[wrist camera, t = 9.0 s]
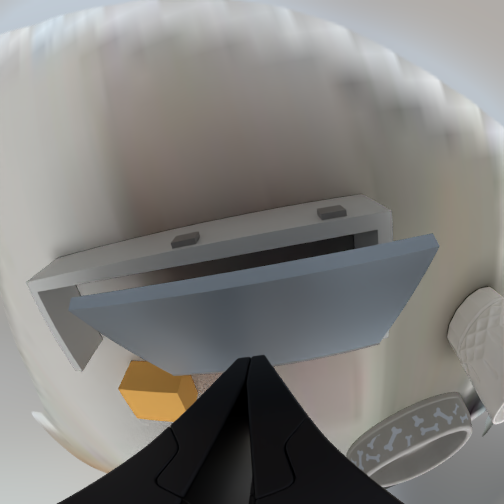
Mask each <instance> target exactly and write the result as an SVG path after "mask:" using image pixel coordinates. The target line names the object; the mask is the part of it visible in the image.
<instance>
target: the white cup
mask: <svg viewBox="0 0 504 504" xmlns="http://www.w3.org/2000/svg"><path fill="white" fill-rule="evenodd" d="M447 338H448V341H449V343H450V346H451V347H452V349H453V350H454V352H455V353H456V355H457V356H458V358H459V360H460V363H461V365H462V367H463V368H464V370H465V372H466V374H467V376H468V377H469V379H470V381H471V382H472V385H473V387H474V388H475V390H476V392H477V394H478V395H479V397H480V399H481V401H482V403H483V405H484V406H485V408H486V410H487V412H488V414H489V416H490V418H491V420H492V422H493V424H499V423H502V422H504V297H503V296H502V295H500V294H499V293H498V292H496V291H495V290H494V289H492V288H491V287H485V288H480V289H478V290H477V291H475V292H474V293H472V294H471V295H470V296H468V297H467V298H466V300H465V301H464V302H463V303H462V304H461V306H460V307H459V308H458V309H457V311H456V312H455V314H454V316H453V318H452V320H451V322H450V324H449V329H448V335H447Z"/></svg>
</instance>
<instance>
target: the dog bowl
mask: <svg viewBox="0 0 504 504" xmlns="http://www.w3.org/2000/svg"><path fill="white" fill-rule="evenodd" d="M471 434H472V424H471V418H470V414H469V412H468V410H467V408H466V406H465V404H464V402H463V400H462V398H461V395H460V394H459V393H458V392H450V393H444V394H440V395H436V396H433V397H430V398H427V399H425V400H422V401H420V402H417V403H415V404H413V405H411V406H408V407H406V408H404V409H402V410H400V411H398V412H397V413H395V414H393V415H391V416H389V417H388V418H386V419H384V420H383V421H381V422H379V423H378V424H376V425H375V426H373V427H372V428H370V429H369V430H368V431H366V432H365V433H364V434H363V435H361V436H360V437H359V438H358V439H357V440H356V441H355V442H354V443H353V444H352V445H351V447H350V448H349V450H348V452H347V458H348V459H349V460H350V461H351V462H353V463H354V464H355V465H356V466H357V467H358V468H360V469H361V470H362V471H363V472H364V473H366V474H367V475H368V476H369V477H370V478H372V479H373V480H374V481H375V482H377V483H378V484H379V485H380V486H382V487H388V486H392V485H396V484H399V483H402V482H405V481H408V480H410V479H413V478H415V477H417V476H420V475H422V474H424V473H426V472H428V471H429V470H431V469H433V468H435V467H437V466H438V465H440V464H441V463H443V462H444V461H446V460H447V459H449V458H450V457H451V456H452V455H454V454H455V453H456V452H457V451H458V450H459V449H460V448H462V446H463V445H464V444H465V443H466V442H467V441H468V439H469V438H470V436H471Z"/></svg>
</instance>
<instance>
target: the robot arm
mask: <svg viewBox="0 0 504 504" xmlns="http://www.w3.org/2000/svg"><path fill="white" fill-rule="evenodd" d="M170 427H171V428H170ZM170 427H168V428H167V429H165V430H164V431H163V432H162V433H161V434H160V435H159V436H158V437H157V438H155V439H154V440H153V441H152V442H151V443H150V444H148V445H147V446H146V447H145V448H143V449H142V450H141V451H139V452H138V453H137V454H135V455H134V456H133V457H131V458H130V459H128V460H127V461H126V462H124V463H123V464H121V465H120V466H118V467H117V468H115V469H114V470H112V471H111V472H109V473H108V474H106V475H104V476H103V477H102V478H100V479H98V480H97V481H95V482H93V483H92V484H90V485H89V486H87V487H86V488H84V489H82V490H80V491H79V492H77V493H75V494H73V495H72V496H70V497H68V498H66V499H65V500H63V501H61V502H59V503H57V504H404V503H403V502H401V501H400V500H399V499H397V498H396V497H395V496H393V495H392V494H391V493H389V492H388V491H387V490H385V489H384V488H383V487H382V486H380V485H379V484H378V483H377V482H375V481H374V480H373V479H372V478H370V477H369V476H368V475H367V474H366V473H364V472H363V471H362V470H361V469H360V468H358V467H357V466H356V465H355V464H354V463H353V462H351V461H350V460H349V459H348V458H347V457H346V456H344V455H343V454H342V453H341V452H340V451H339V450H338V449H337V448H336V447H335V446H334V445H333V444H332V443H331V442H330V441H329V440H328V439H327V438H326V437H325V436H324V435H323V434H322V432H321V431H320V430H319V429H318V428H317V426H316V425H315V424H314V422H313V421H312V420H311V418H309V417H308V415H307V414H306V412H305V411H304V410H303V408H302V407H301V405H300V404H299V403H298V401H297V400H296V399H295V397H294V396H293V394H292V393H291V392H290V390H289V389H288V387H287V386H286V385H285V383H284V382H283V380H282V379H281V378H280V376H279V375H278V373H277V372H276V370H275V369H274V368H273V366H272V365H271V363H270V362H269V360H268V359H267V357H266V356H265V355H257V356H252V357H242V358H238V359H236V360H235V361H234V362H233V364H232V365H231V366H230V367H229V368H228V369H227V370H226V371H225V372H224V373H223V374H222V375H221V376H220V377H219V378H218V379H217V380H216V381H215V382H214V383H213V384H212V385H211V386H210V387H209V388H208V389H207V390H206V391H205V392H204V393H203V394H202V395H201V396H200V397H199V398H198V399H197V400H196V401H195V402H194V403H193V404H192V405H191V406H190V407H189V408H188V409H187V410H186V411H185V412H184V413H183V414H182V415H181V416H180V417H179V418H178V419H177V420H176V421H175V422H174V423H172V424H171V425H170Z"/></svg>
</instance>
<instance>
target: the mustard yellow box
mask: <svg viewBox="0 0 504 504" xmlns="http://www.w3.org/2000/svg"><path fill="white" fill-rule="evenodd" d="M118 389H119V391H120V393H121V394H122V396H123V397H124V399H125V400H126V402H127V404H128V405H129V407H130V408H131V410H132V411H133V413H134V414H135V415H136V417H137V418H140V419H148V420H158V421H170V422H175V421H176V420H177V419H178V418H179V417H180V416H181V415H182V414H183V413H184V412H185V411H186V410H187V409H188V408H189V407H190V406H191V405H192V404H193V403H194V402H195V401H196V400H197V395H198V392H197V390H196V387H195V385H194V382H193V380H192V377H191V375H182V376H173V375H172V374H170V373H168V372H166V371H164V370H162V369H161V368H159V367H157V366H155V365H153V364H151V363H150V362H148V361H131V363H130V365H129V367H128V369H127V371H126V373H125V375H124V378H123V380H122V382H121V384H120V386H119V388H118Z"/></svg>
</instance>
